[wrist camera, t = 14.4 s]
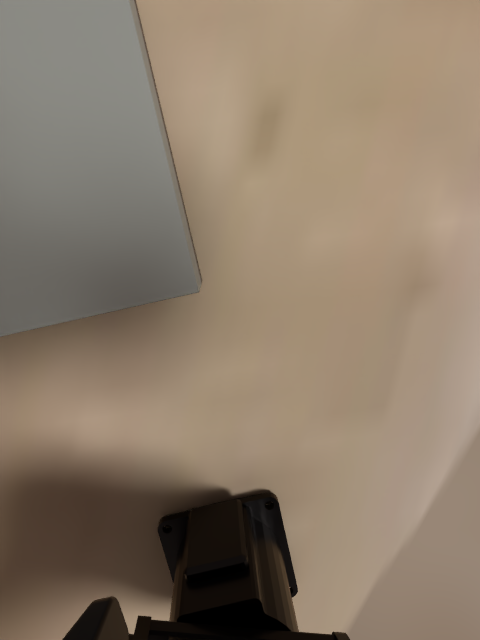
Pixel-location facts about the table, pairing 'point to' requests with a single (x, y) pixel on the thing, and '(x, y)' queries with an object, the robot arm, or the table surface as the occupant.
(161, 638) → the robot arm
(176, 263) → the socket block
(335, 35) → the table surface
